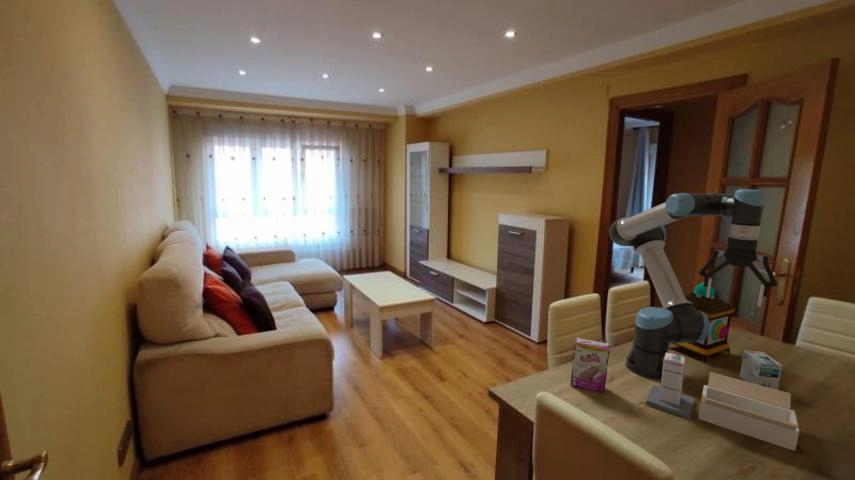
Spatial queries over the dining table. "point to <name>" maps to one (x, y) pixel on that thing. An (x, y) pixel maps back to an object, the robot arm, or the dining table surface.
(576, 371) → the candy bar box
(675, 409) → the slate mat
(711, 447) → the dining table surface
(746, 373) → the light bulb box
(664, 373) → the syrup box
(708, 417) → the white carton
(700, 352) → the decorative lantern
